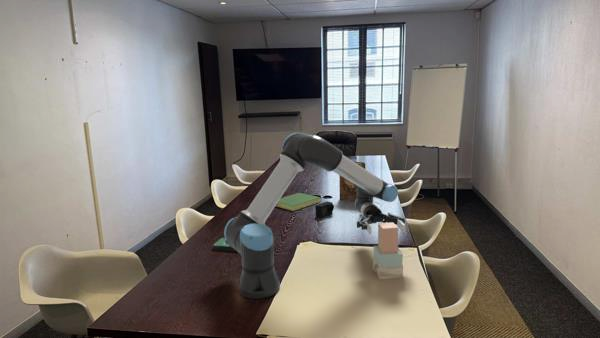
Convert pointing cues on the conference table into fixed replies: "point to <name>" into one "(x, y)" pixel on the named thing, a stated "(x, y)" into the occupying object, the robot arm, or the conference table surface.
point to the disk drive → (222, 245)
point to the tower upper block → (387, 258)
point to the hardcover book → (297, 201)
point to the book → (349, 187)
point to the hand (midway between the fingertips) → (387, 229)
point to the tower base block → (388, 271)
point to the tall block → (388, 237)
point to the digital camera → (324, 209)
